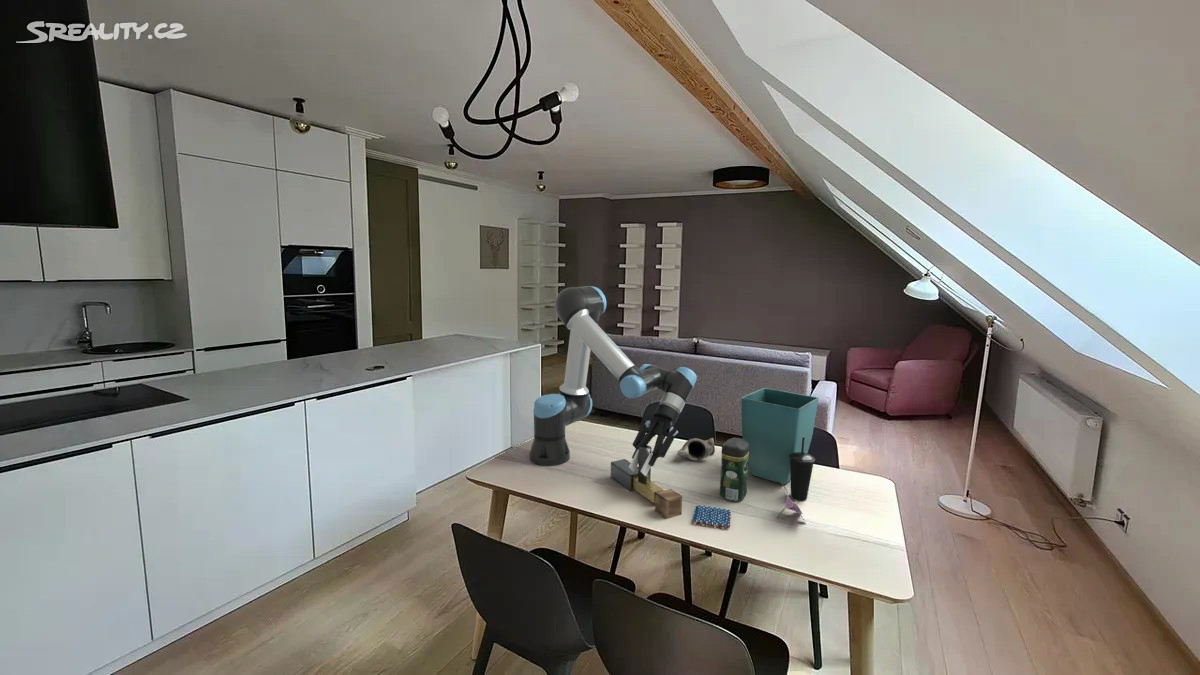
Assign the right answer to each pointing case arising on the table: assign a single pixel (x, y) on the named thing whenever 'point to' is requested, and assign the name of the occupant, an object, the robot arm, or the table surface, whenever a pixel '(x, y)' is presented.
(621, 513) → the table surface
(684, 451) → the pipe
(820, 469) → the table surface
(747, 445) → the coffee jar
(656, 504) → the socket
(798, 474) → the drinking cup
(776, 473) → the teal waste bin
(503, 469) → the table surface
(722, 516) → the woven mat
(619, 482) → the sleeve
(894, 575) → the table surface
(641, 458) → the slide bolt with knob
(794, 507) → the lily
